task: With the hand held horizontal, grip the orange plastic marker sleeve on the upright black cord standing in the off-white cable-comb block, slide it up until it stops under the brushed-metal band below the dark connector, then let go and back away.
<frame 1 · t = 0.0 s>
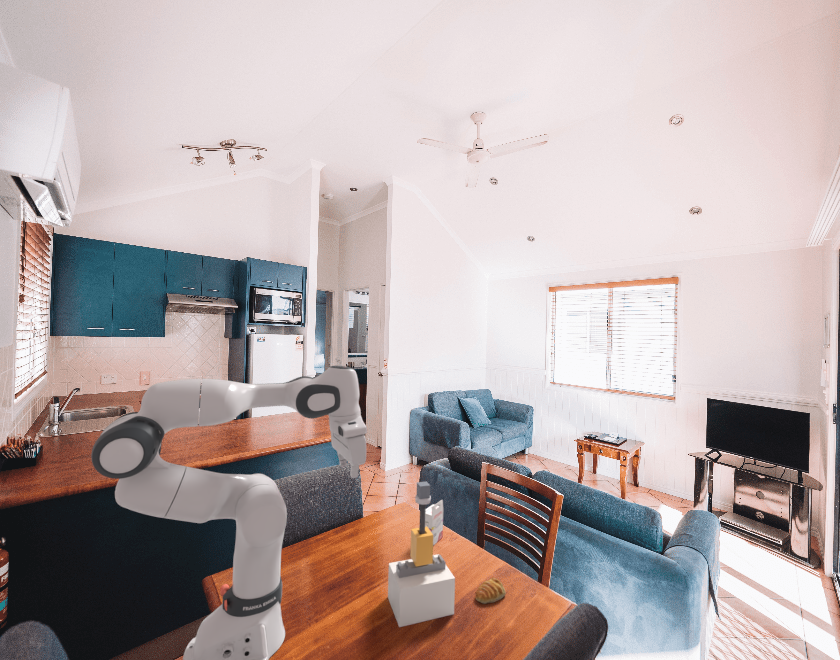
hand: (348, 471, 106), 39 cm above the table, tool pointing down, fingers open, 8 cm apart
comb base: (420, 605, 108), on the table
pastry: (490, 596, 113), on the table
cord: (422, 527, 108), point 22 cm above the table
ink cartridge box: (431, 540, 143), on the table
marker sleeve: (421, 545, 108), point 17 cm above the table, slide at 0.0 cm
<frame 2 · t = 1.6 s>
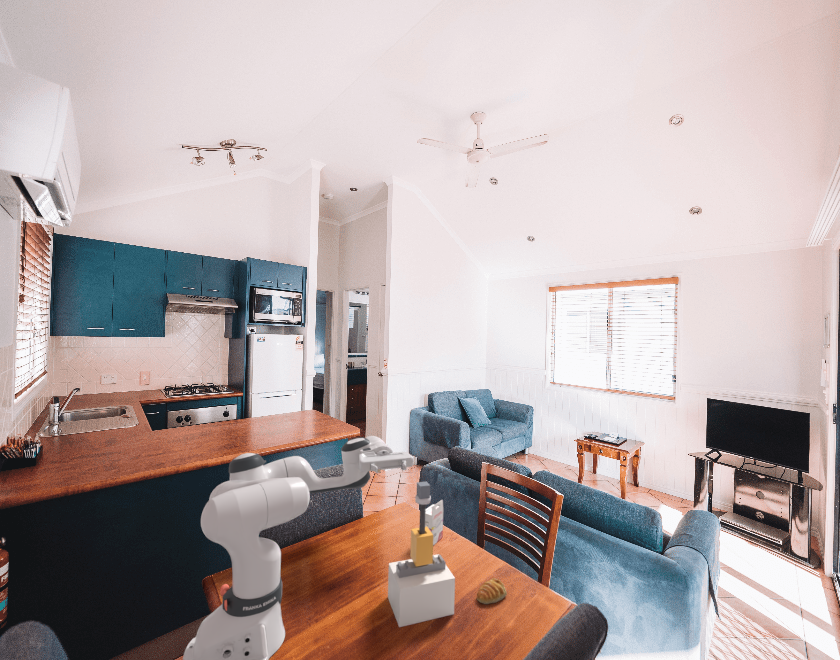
hand: (391, 469, 131), 31 cm above the table, tool horizontal, fingers open, 8 cm apart
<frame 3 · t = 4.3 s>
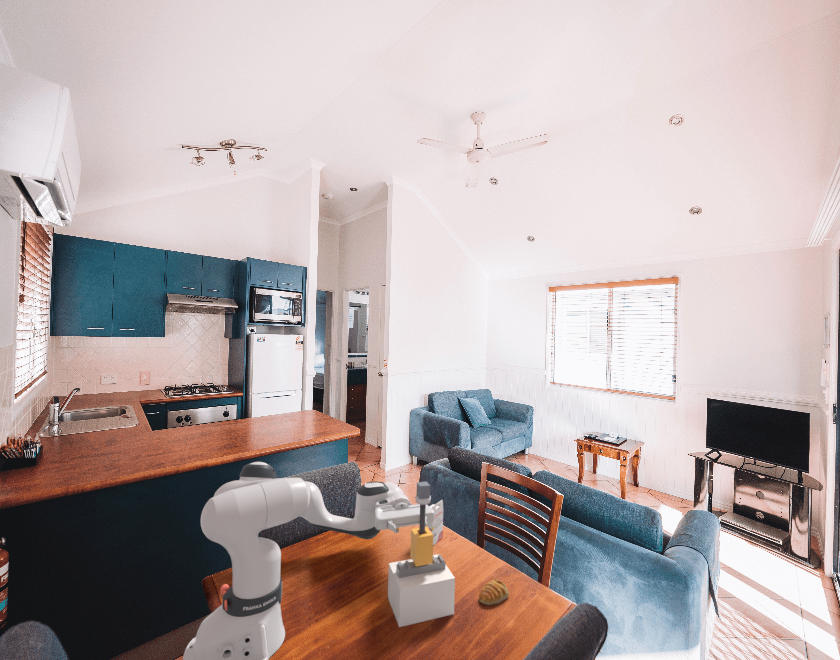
hand: (411, 528, 118), 17 cm above the table, tool horizontal, fingers open, 8 cm apart
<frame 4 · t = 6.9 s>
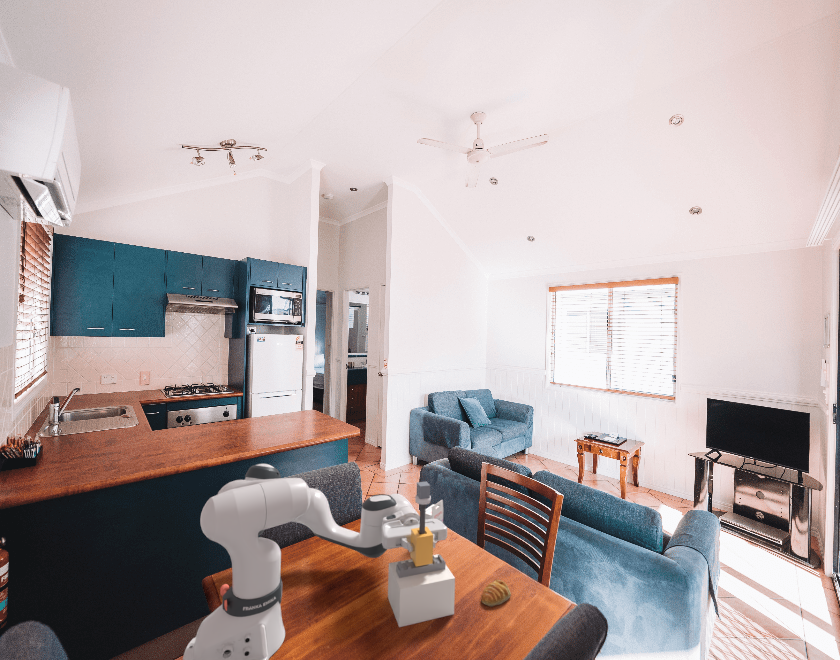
hand: (422, 547, 107), 17 cm above the table, tool horizontal, fingers closed on marker sleeve, 5 cm apart
marker sleeve: (421, 545, 108), point 17 cm above the table, slide at 0.0 cm, touching gripper
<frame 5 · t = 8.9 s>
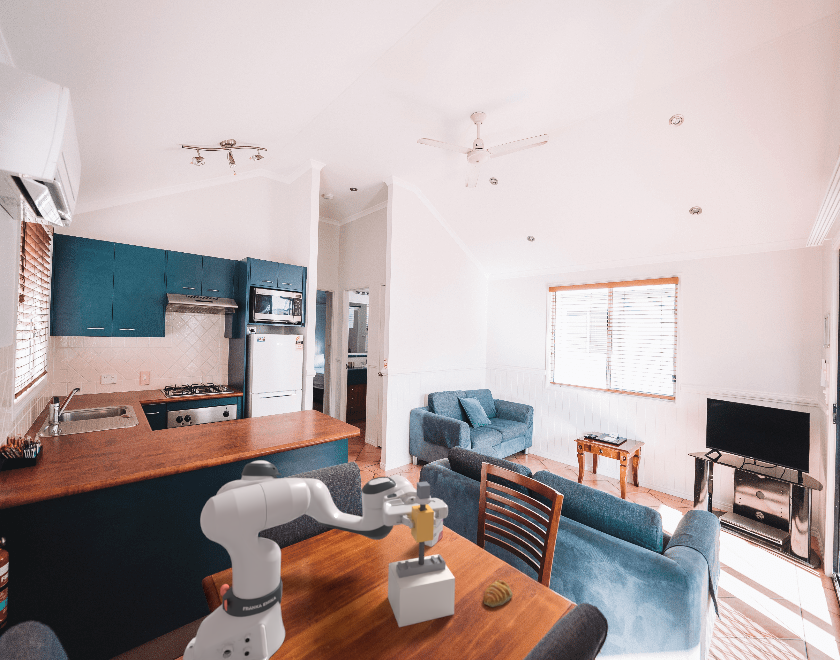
hand: (423, 524, 108), 24 cm above the table, tool horizontal, fingers closed on marker sleeve, 5 cm apart
marker sleeve: (422, 522, 108), point 24 cm above the table, slide at 6.6 cm, touching gripper
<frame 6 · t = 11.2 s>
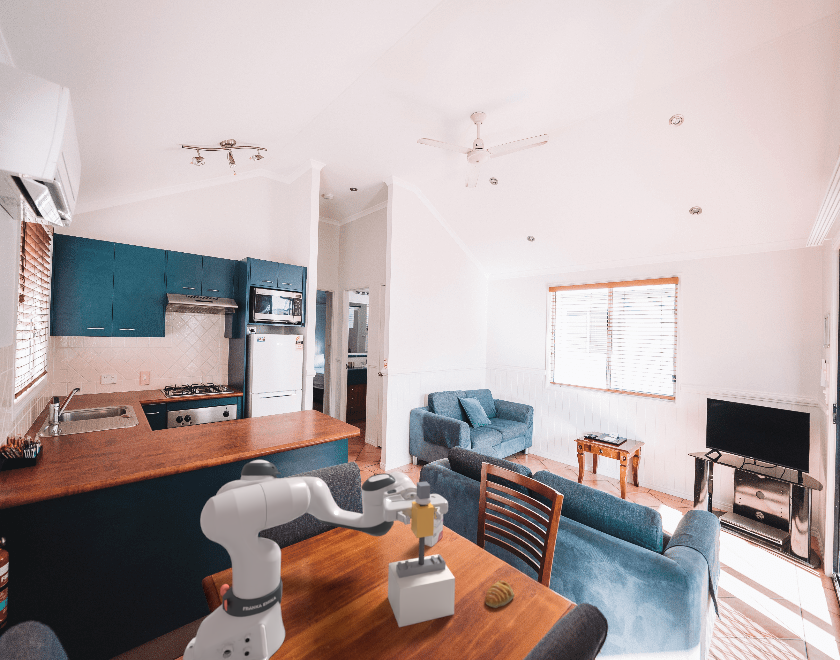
hand: (423, 519, 108), 25 cm above the table, tool horizontal, fingers open, 8 cm apart
marker sleeve: (422, 518, 108), point 25 cm above the table, slide at 7.9 cm
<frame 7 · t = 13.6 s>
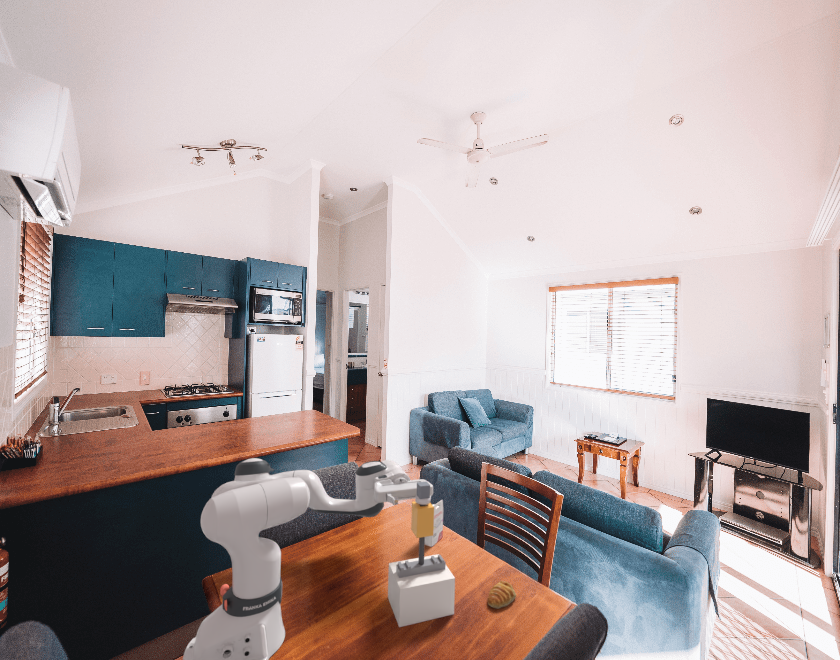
hand: (410, 500, 120), 25 cm above the table, tool horizontal, fingers open, 8 cm apart
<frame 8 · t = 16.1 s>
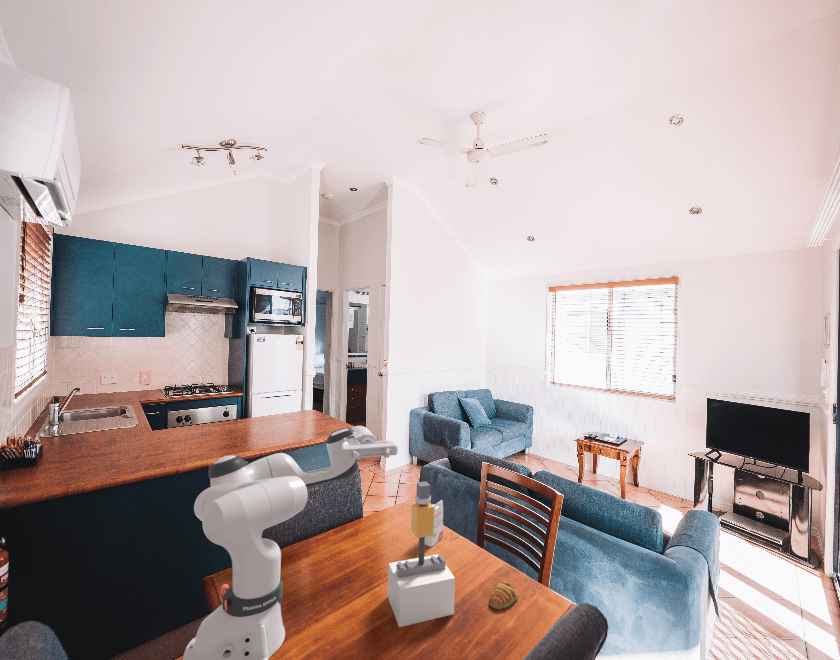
hand: (373, 456, 128), 36 cm above the table, tool horizontal, fingers open, 8 cm apart
at the end: marker sleeve slide at 7.9 cm; the gripper is holding nothing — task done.
